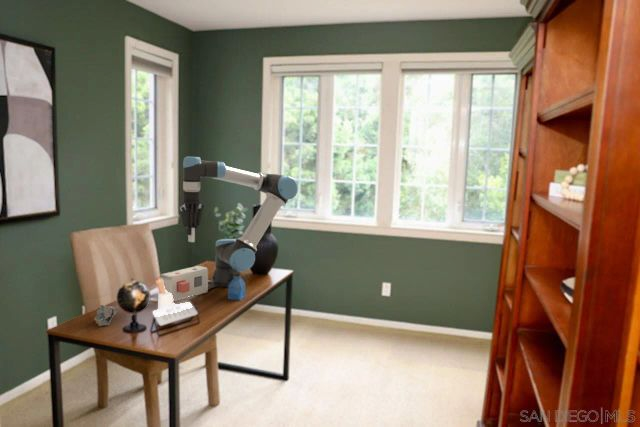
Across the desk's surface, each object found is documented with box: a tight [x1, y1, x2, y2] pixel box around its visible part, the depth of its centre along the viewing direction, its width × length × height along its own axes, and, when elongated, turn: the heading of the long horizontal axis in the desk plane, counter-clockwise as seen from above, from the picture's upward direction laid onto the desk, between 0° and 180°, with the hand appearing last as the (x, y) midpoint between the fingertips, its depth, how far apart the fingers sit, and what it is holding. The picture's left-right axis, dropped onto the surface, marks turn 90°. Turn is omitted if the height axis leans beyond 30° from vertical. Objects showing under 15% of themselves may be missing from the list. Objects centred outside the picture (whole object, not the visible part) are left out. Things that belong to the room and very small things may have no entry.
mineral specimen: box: [94, 304, 119, 327], centre depth 183 cm, size 10×8×10 cm
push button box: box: [159, 265, 217, 303], centre depth 221 cm, size 30×7×12 cm, turn 145°
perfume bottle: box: [227, 271, 247, 301], centre depth 218 cm, size 6×6×12 cm
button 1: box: [194, 276, 202, 287], centre depth 221 cm, size 4×6×4 cm
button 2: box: [177, 281, 190, 293], centre depth 211 cm, size 4×6×4 cm
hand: (191, 241), depth 214 cm, fingers closed
